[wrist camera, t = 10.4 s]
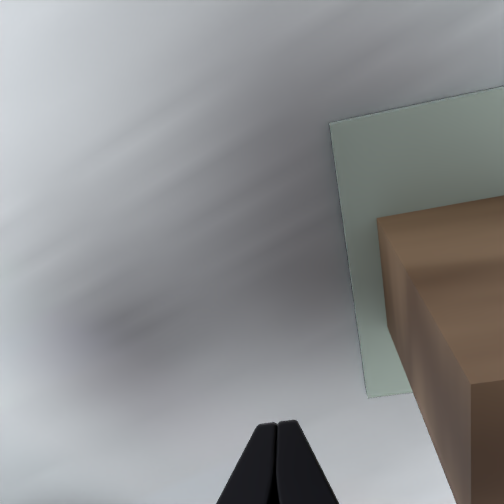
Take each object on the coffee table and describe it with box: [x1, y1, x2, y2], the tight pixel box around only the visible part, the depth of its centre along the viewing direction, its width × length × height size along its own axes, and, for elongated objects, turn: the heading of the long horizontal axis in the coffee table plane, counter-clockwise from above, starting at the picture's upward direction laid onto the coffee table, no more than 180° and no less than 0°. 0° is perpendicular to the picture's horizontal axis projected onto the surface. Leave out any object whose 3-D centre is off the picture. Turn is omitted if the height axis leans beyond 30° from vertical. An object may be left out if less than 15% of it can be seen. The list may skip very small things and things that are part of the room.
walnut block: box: [376, 195, 504, 504], centre depth 11 cm, size 4×4×7 cm
